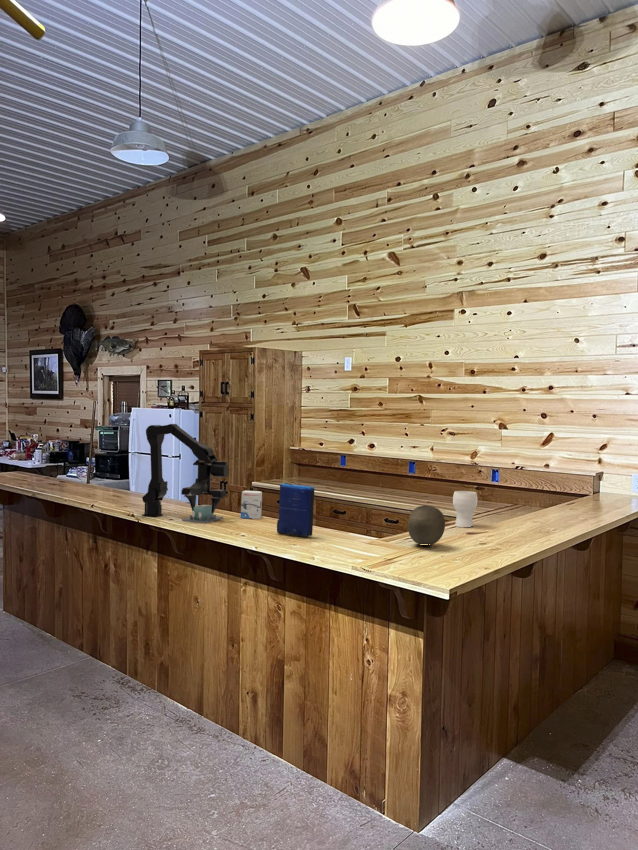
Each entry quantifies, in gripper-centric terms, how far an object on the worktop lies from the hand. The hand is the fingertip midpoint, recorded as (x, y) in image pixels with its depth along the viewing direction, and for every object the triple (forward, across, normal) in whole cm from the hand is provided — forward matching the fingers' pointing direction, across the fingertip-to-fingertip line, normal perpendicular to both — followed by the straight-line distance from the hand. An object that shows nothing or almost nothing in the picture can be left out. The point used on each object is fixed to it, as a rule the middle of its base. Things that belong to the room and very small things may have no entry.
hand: (203, 512), depth 276 cm
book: (+3, +47, -14) cm, 49 cm away
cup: (+3, +106, +42) cm, 114 cm away
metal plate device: (+3, 0, 0) cm, 3 cm away
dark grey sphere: (+3, +97, -9) cm, 98 cm away
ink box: (+3, +16, +14) cm, 22 cm away
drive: (+2, 0, 0) cm, 2 cm away
